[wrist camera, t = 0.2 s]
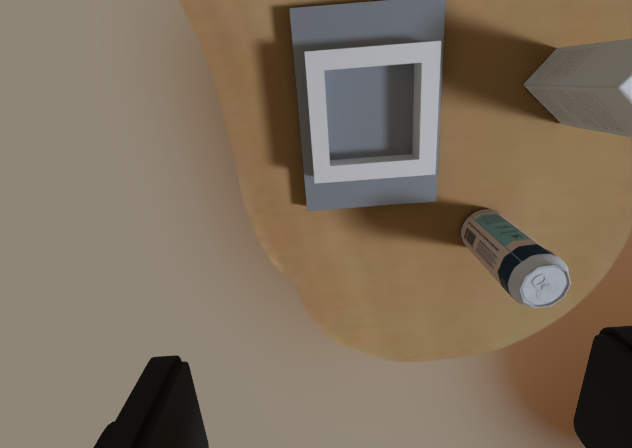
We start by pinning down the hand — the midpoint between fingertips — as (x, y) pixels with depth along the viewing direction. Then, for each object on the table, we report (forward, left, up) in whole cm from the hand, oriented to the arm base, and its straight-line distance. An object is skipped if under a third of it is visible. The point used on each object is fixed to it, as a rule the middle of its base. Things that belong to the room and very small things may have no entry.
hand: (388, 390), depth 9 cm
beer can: (+10, +16, -31) cm, 36 cm away
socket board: (-3, +4, -31) cm, 31 cm away
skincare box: (-4, +22, -31) cm, 38 cm away
